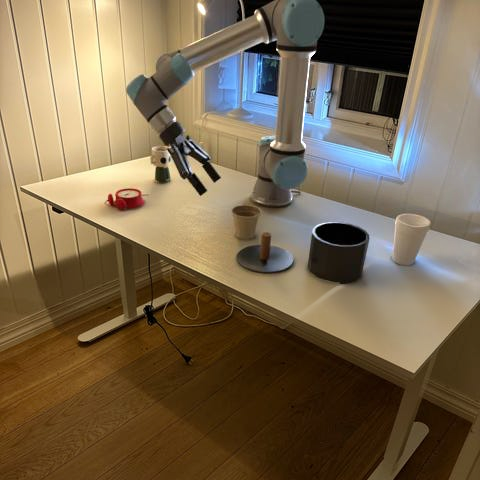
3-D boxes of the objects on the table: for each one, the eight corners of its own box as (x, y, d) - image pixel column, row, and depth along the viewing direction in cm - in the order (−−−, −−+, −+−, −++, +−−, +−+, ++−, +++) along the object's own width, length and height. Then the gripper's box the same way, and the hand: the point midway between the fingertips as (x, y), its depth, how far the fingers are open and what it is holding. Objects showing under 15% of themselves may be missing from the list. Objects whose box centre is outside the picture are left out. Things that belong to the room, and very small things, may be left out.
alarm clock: (151, 193, 173) (116, 194, 163) (149, 210, 176) (114, 212, 165) (134, 185, 179) (99, 186, 168) (132, 202, 182) (97, 204, 171)
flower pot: (257, 244, 152) (258, 218, 147) (227, 240, 153) (228, 214, 148) (261, 231, 159) (263, 206, 154) (234, 228, 161) (234, 203, 156)
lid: (260, 243, 152) (261, 217, 147) (303, 260, 144) (307, 234, 139) (224, 261, 142) (224, 234, 137) (269, 281, 133) (271, 253, 128)
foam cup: (401, 270, 141) (412, 229, 134) (380, 256, 148) (389, 216, 140) (425, 263, 145) (437, 223, 137) (404, 250, 152) (414, 211, 144)
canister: (325, 252, 149) (331, 217, 142) (371, 269, 141) (379, 233, 134) (296, 270, 139) (300, 233, 132) (344, 290, 131) (351, 252, 124)
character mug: (158, 187, 189) (156, 153, 182) (146, 182, 193) (144, 149, 185) (178, 180, 196) (177, 147, 189) (167, 176, 200) (165, 143, 192)
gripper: (174, 127, 156) (214, 181, 162) (141, 144, 136) (188, 206, 142) (190, 112, 152) (231, 169, 158) (159, 128, 132) (207, 192, 138)
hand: (211, 186), depth 150 cm, fingers open, 13 cm apart
